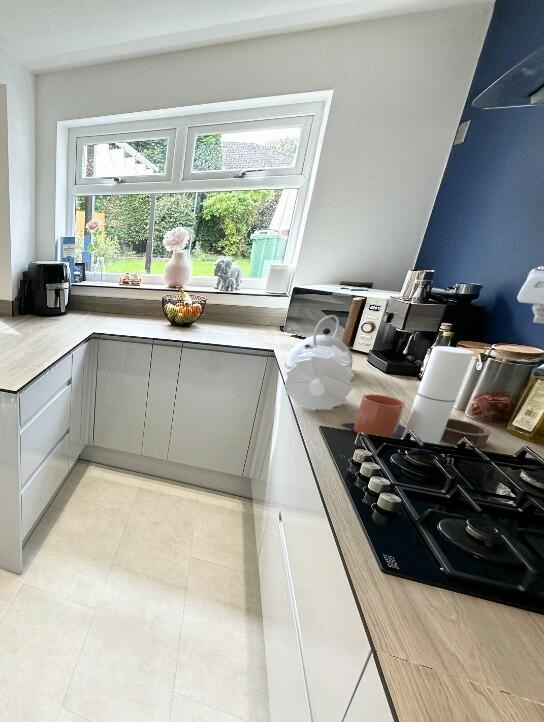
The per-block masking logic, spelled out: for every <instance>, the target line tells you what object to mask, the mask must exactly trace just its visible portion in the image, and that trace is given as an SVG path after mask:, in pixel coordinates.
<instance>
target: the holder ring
mask: <svg viewBox="0 0 544 722" xmlns="http://www.w3.org/2000/svg"><path fill="white" fill-rule="evenodd" d="M491 433H492V431H490V430H489V429H487V428H486V427H484V426H481V425H479V424H476V423H474V422H470V421H466V420H461V419H457V418H452V417H451V418H450V417H449V419H448V422H447V424H446V427H445V429H444V432H443V435H442V437H441V440H440V441H441V442H445V443H448V444H452V445H456V446H458V445H457V443H458V442H459V441H460V440H461V439H462V438H464V437H466V438H468V439H469V440H470V441H472V442H473V443H474V444H475V445H476V446H477V447H476V448H484V447H485V446H486V444H487V442H488V440H489V438H490V436H491Z"/></svg>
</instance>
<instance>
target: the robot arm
mask: <svg viewBox="0 0 544 722" xmlns="http://www.w3.org/2000/svg"><path fill="white" fill-rule="evenodd" d="M516 298H517V301H518V303H524V304H532V307H531V310H532V312H533V315H534V317H533V320H532V322H533V323H536V324H544V265H541V266H538V267H536V268H533V269H532V270H530V271H529V272H528V275H527V277H526V280H525V282H524V284H523V285H522V287H521V288H520V290H519V292H518V294H517V296H516Z"/></svg>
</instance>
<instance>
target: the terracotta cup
mask: <svg viewBox="0 0 544 722" xmlns="http://www.w3.org/2000/svg"><path fill="white" fill-rule="evenodd" d="M405 406H406V404H405V402H404V401H402V400H401V399H398V398H395V397H392V396H388V395H381V394H375V393H374V394H373V393H369V394H363V395H362V397H361V400H360V404H359V407H358V411H357V413H356V417H355V421H354V423H355V424H354V432H355V433H356V434H358V435H360V433H359V432H363V433H366V434H372V435H379V436H385V437H394V436H395V433H396V430H397V427H398V424H399V425H400V421H401V419H402V416H403V412H404V410H405Z"/></svg>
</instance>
